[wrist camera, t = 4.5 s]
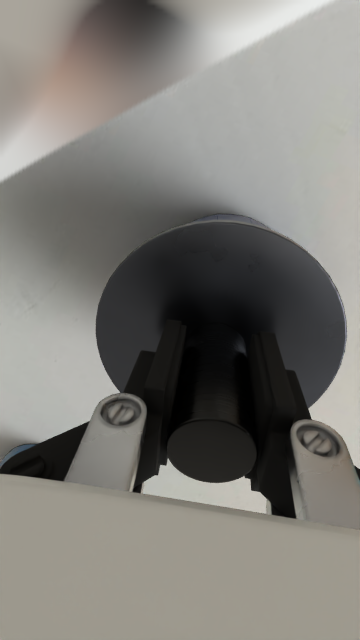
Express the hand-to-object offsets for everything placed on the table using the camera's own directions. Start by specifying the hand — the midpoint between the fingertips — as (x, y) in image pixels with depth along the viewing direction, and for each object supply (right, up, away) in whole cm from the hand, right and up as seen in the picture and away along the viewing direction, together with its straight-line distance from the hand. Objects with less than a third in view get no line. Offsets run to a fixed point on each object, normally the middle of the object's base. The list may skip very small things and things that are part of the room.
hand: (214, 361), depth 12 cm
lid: (0, +1, +1) cm, 1 cm away
